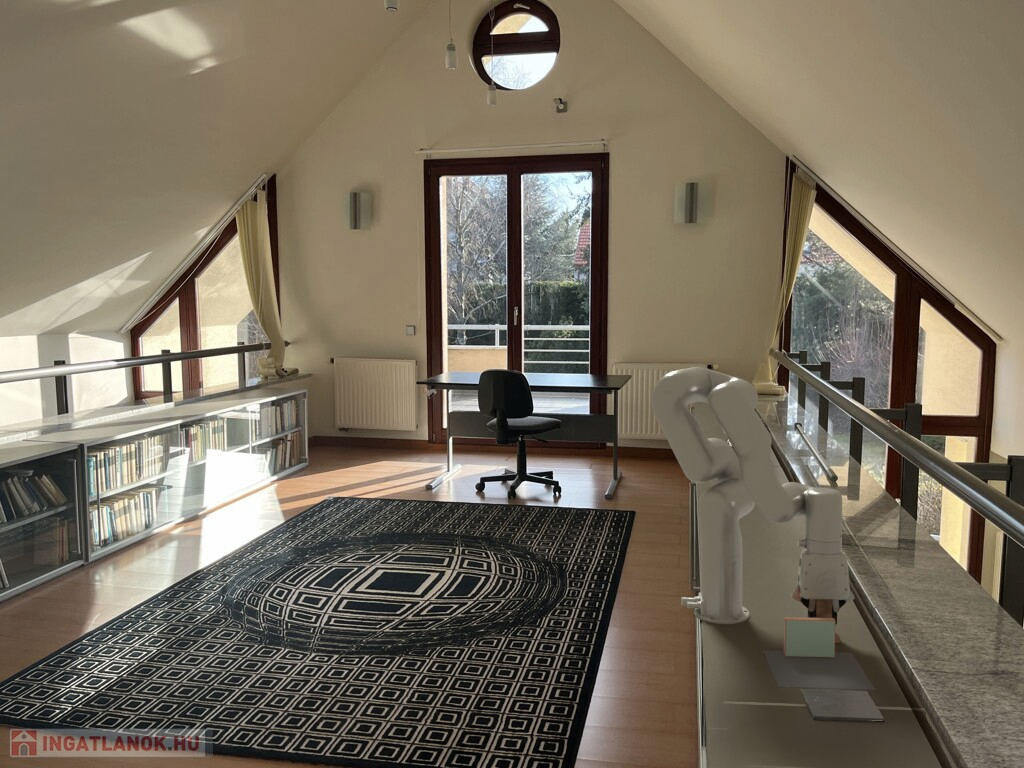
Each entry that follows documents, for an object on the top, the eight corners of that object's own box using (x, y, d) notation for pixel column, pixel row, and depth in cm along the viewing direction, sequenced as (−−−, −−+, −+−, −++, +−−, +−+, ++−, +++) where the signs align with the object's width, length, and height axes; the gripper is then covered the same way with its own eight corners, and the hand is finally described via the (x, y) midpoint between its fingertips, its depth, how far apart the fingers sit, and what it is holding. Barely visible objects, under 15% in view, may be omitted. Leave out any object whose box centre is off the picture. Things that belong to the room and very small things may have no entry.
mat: (777, 688, 155) (777, 686, 155) (762, 652, 170) (762, 650, 170) (876, 691, 152) (876, 689, 152) (851, 654, 168) (851, 652, 168)
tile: (785, 656, 167) (785, 619, 166) (783, 653, 169) (783, 617, 168) (835, 658, 166) (835, 620, 165) (833, 655, 167) (833, 618, 166)
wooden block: (811, 643, 174) (811, 596, 173) (804, 632, 180) (805, 586, 179) (840, 644, 173) (840, 597, 172) (832, 632, 179) (833, 587, 178)
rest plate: (813, 719, 143) (813, 716, 143) (800, 692, 153) (800, 689, 153) (884, 721, 142) (884, 718, 142) (866, 694, 152) (866, 691, 151)
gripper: (787, 550, 172) (787, 633, 174) (868, 551, 169) (866, 635, 171) (780, 540, 179) (780, 619, 181) (857, 540, 177) (856, 621, 179)
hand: (822, 626), depth 176 cm, fingers closed on wooden block, 3 cm apart
